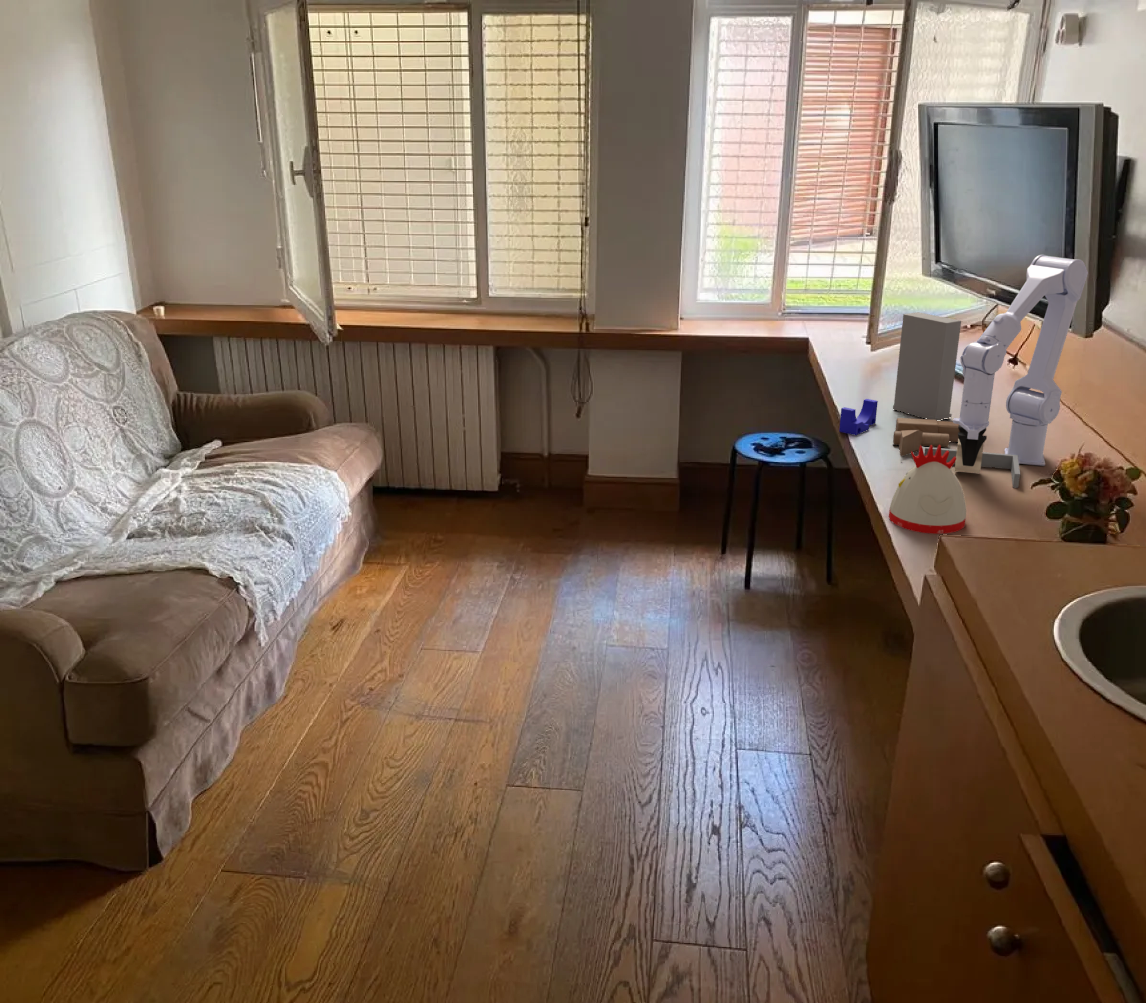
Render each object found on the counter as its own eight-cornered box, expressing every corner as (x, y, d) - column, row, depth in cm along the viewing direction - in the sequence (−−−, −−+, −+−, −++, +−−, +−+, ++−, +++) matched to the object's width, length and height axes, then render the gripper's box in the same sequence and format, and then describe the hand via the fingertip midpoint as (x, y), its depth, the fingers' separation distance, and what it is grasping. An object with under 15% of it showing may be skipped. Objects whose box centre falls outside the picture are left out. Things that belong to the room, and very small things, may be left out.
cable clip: (855, 435, 246) (857, 411, 243) (839, 432, 249) (841, 408, 246) (880, 425, 253) (883, 401, 251) (864, 421, 256) (866, 398, 254)
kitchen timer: (882, 505, 202) (890, 433, 197) (954, 507, 201) (963, 434, 196) (897, 533, 189) (905, 456, 184) (973, 535, 188) (984, 457, 183)
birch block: (954, 465, 221) (958, 438, 219) (979, 467, 220) (983, 441, 217) (954, 471, 218) (958, 444, 216) (979, 473, 216) (983, 446, 214)
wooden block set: (893, 413, 244) (972, 417, 240) (890, 435, 246) (969, 440, 242) (898, 433, 229) (983, 438, 225) (895, 457, 231) (979, 462, 227)
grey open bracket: (919, 459, 228) (920, 446, 227) (1015, 468, 222) (1017, 455, 221) (916, 477, 217) (917, 464, 216) (1017, 487, 210) (1020, 474, 209)
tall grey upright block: (951, 419, 257) (964, 320, 248) (934, 423, 254) (946, 323, 245) (909, 406, 268) (919, 311, 259) (892, 410, 265) (902, 314, 256)
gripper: (956, 390, 221) (949, 450, 226) (955, 407, 208) (947, 470, 213) (991, 392, 218) (983, 453, 223) (992, 410, 206) (983, 474, 211)
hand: (968, 462), depth 218 cm, fingers closed on birch block, 4 cm apart
